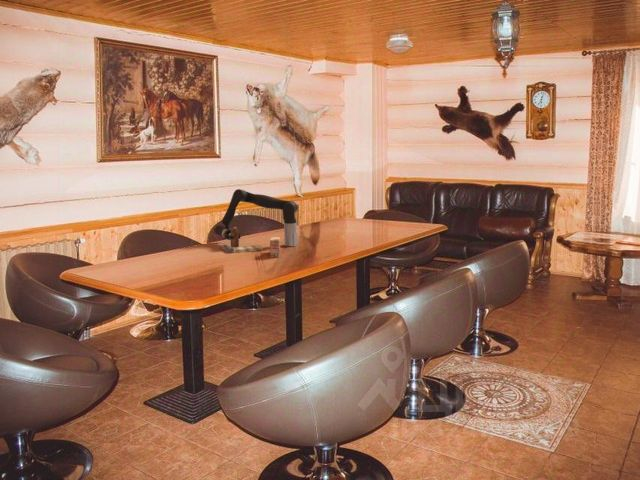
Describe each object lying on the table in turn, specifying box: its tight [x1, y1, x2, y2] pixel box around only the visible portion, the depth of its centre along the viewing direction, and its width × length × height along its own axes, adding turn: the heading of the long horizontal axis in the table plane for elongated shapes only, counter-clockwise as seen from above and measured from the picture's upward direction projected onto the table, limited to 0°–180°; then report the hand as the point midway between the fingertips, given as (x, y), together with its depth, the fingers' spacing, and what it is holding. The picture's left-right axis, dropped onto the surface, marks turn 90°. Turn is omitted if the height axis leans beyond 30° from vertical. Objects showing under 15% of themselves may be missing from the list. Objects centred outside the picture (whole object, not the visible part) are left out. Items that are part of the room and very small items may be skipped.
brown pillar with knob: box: [229, 226, 240, 248], centre depth 445 cm, size 4×4×14 cm
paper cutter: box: [221, 244, 264, 254], centre depth 443 cm, size 25×17×3 cm
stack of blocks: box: [269, 236, 281, 258], centre depth 424 cm, size 21×6×12 cm, turn 2°
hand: (235, 237), depth 442 cm, fingers closed on brown pillar with knob, 4 cm apart
